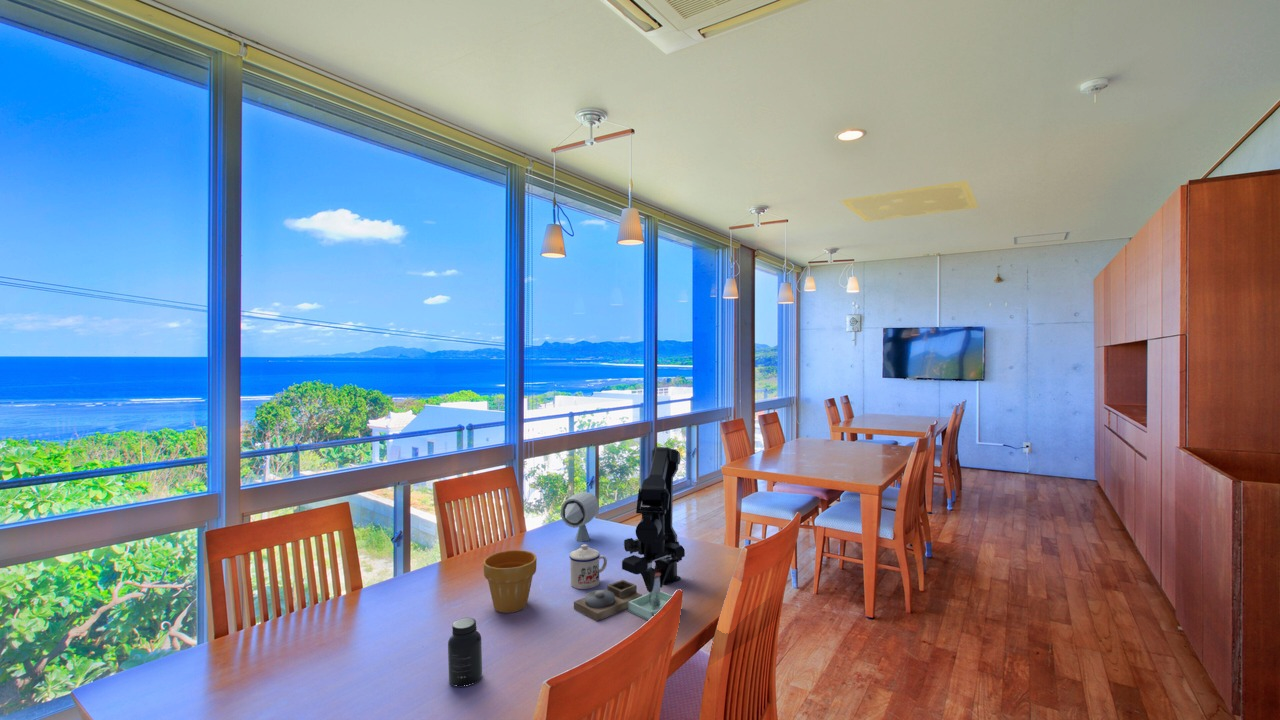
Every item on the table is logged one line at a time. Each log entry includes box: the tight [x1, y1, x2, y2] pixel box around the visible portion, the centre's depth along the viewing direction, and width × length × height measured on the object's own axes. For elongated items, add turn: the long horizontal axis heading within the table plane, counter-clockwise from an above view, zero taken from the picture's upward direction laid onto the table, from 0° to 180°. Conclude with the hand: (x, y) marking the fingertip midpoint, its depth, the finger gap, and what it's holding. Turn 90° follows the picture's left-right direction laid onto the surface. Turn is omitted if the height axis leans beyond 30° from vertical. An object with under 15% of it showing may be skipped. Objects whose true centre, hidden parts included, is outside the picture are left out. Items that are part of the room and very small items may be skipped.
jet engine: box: [560, 491, 600, 543], centre depth 205 cm, size 15×20×18 cm
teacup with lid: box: [569, 543, 608, 590], centre depth 167 cm, size 12×9×12 cm
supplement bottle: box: [447, 617, 483, 687], centre depth 117 cm, size 7×7×12 cm
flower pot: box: [483, 549, 537, 614], centre depth 152 cm, size 14×14×13 cm
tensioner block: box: [573, 579, 643, 622], centre depth 151 cm, size 16×10×4 cm, turn 134°
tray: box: [627, 590, 673, 621], centre depth 148 cm, size 11×9×2 cm
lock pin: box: [648, 569, 661, 607], centre depth 148 cm, size 4×4×9 cm
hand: (654, 589), depth 148 cm, fingers open, 4 cm apart
